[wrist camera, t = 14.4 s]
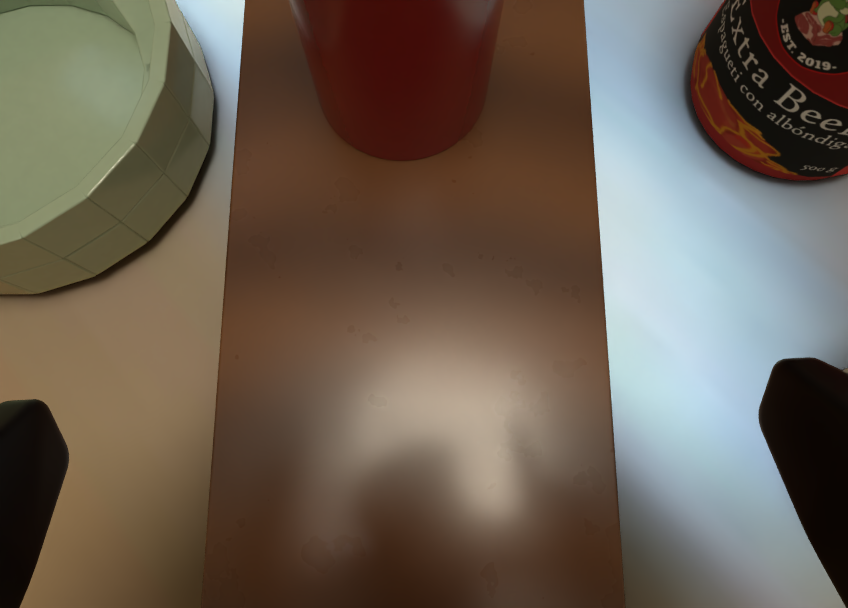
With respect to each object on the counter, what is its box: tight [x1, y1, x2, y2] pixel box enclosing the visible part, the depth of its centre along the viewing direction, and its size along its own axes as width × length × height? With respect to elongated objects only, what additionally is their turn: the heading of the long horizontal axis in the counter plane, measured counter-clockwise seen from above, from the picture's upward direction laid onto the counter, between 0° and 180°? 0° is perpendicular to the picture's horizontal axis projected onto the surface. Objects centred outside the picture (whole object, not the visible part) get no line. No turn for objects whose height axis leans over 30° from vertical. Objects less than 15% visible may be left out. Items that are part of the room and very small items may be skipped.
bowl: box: [0, 0, 214, 294], centre depth 20 cm, size 13×13×4 cm
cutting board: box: [201, 0, 626, 608], centre depth 20 cm, size 21×12×2 cm, turn 0°
